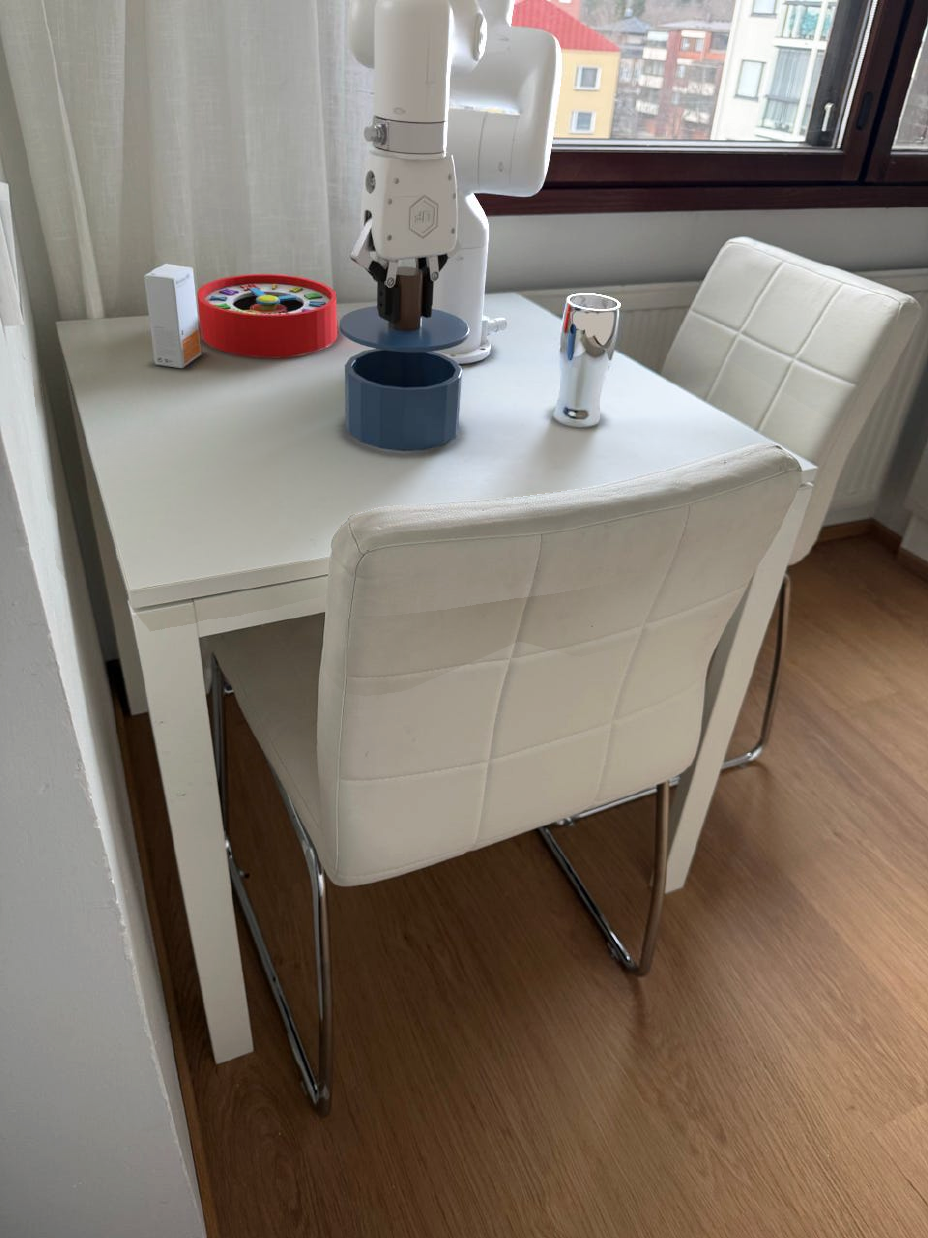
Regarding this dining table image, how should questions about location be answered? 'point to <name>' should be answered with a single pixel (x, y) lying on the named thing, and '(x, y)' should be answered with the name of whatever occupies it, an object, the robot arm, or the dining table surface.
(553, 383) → the dining table surface
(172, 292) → the cosmetic box
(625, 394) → the dining table surface
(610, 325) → the beer glass
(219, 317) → the toy clock
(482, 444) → the dining table surface
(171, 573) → the dining table surface
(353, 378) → the tin
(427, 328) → the tin lid
